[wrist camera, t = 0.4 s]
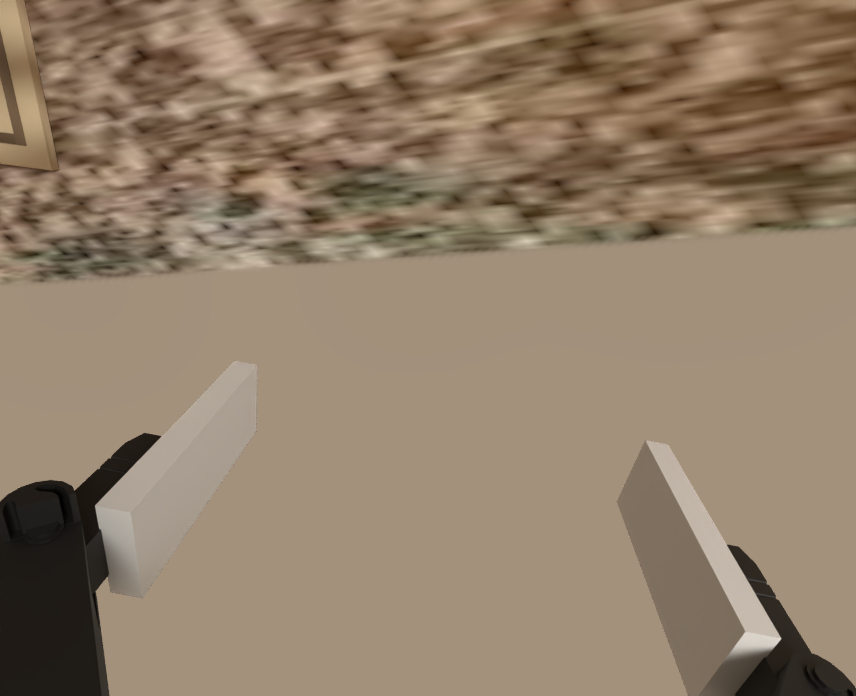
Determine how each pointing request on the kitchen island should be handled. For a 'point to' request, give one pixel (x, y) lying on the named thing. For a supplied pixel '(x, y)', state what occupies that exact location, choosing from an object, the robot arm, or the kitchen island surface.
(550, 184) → the kitchen island surface
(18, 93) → the mark board
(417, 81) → the kitchen island surface
